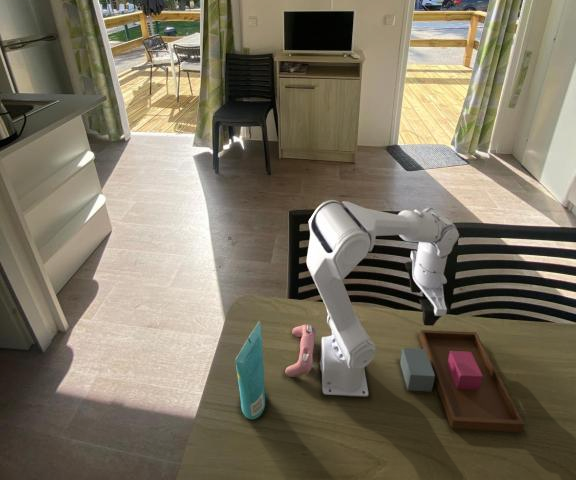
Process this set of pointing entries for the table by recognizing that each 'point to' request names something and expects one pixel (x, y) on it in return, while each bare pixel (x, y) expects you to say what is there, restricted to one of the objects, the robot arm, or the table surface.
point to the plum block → (464, 370)
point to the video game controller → (303, 351)
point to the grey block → (417, 369)
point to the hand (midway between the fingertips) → (421, 306)
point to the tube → (251, 375)
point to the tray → (470, 403)
